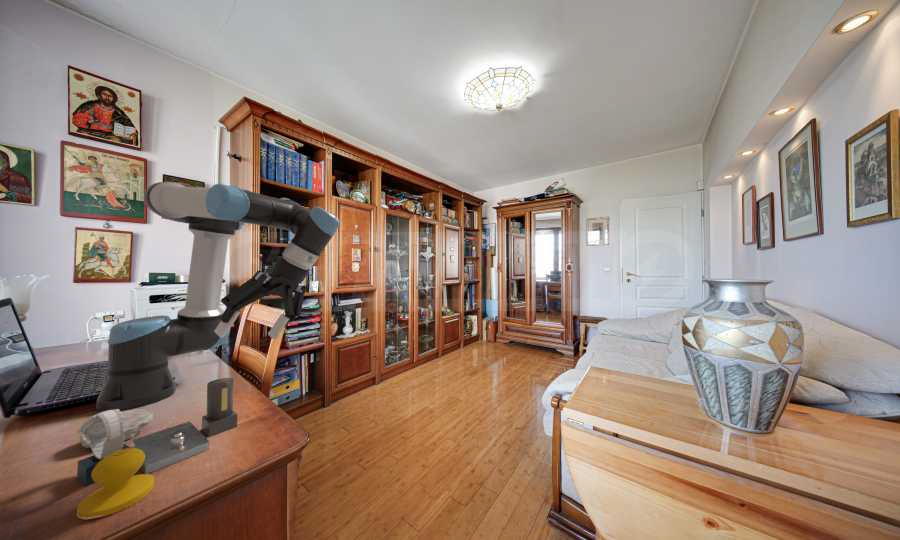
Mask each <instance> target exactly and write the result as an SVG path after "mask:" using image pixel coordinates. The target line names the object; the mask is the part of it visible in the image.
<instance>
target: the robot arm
mask: <svg viewBox="0 0 900 540" xmlns="http://www.w3.org/2000/svg"><path fill="white" fill-rule="evenodd" d="M143 193H144V194H143V200H144V203H145V205H146V206H147V208H148V209H149V210H150V211H152V213H153V214H155V215H158V216H159V217H162V218H163V219H165V220H166V219H167V220H169V221H172V222H177V223H182V224H188V231H189V232H190V233H192V234H193V243H192V249H191V259H190V266H189V272H188V279H187V280H188V282H187V288H186V297H185V305H184V307H182V308H181V309H179V310H178V311H177V315H176V316H177V317H176V318H172V319H171V318H170V316H169V315H154V316H147V317H140V318H134V319H130V320H126V321H125V320H124V321H122V322H120V323H116V324H115V325H113V326H112V327H111V328H110V330H109V337H108V341H107V345H108V357H107V358H108V361H107V362H108V363H107V377H106V381H105V383H104V384H103V386H102V388H101V391H100V393H99V395H98V397H97V399H96V410H97V411H100V412H104V411H108V410H116V409H119V410H120V411H121V410H122V411H123V410H130V409H133V408H138V407H142V406H146V405H150V404H153V403H157V402H159V401H161V399H162V400H164V399H167V398H168V397H170V396H172V395H173V394H175V392H176V386H177V385H176V382H175V379H174V377H173V375H172V373H171V370H170V368H169V359H170V358H171V357H177V356H180V355H187V354H190V353H191V354H192V353H196V352H202V351H208V350H211V349H215V348H218V347H220V346H222V345H223V344H224V343H225V342H226V341H227V339H228V338H229V335H230V333H231V327H232V326H233V324H234V323H235V321H236V320H237V319H238V317H239V316H240V314H241V311H239V310H241V309H243V308H245V307H247V306H249V305H251V304H252V303H254V302H257V301H258V300H260V299H262V298H264V297H269V296H270V295H271V296H278V297H280V298H282V302H283V311H284V313H280V315H279V316H278V318H277V320H276V321H275V322H274V324H273V325H272V327H271V329H270V330H269V331H268V333H267V335H268V336H269V337H270V338H272V339H273V340H277V339H278V337H279V335H280V334H281V332H283V331H282V330H283V329H285V328H286V327H287V325H288V324H289V322H290V321H291V320H292V321H294V320H295V319H296V317H297V318H299V317H300V316H301V315H302V311H303V310H302V309H303V303H304V298H305V293H306V291H307V290H308V286H307V285H306V284H304V283H303V282H304V281H305V279H306V278H307V276H308V275H309V270H310V269H312V268H313V267H314V265H315V264H316V262H317V260H318V259H319V257H320V256H321V254H322V253H323V251H324V250H325V248H326V247H327V245H328V244H329V242H330V241H331V240H332V238H333V237H334V236H335V234H336V232H337V230H338V228H339V227H340V223H341V222H340V219H339V218H338V217H336V216H335V215H333V214H331V212H328V211H327V210H325V209H323V208H322V207H321V206H318V205H317V206H316V205H315V206H313V207H312V209H310V210H309V209H307V208H305V207H304V206H302V205H301V204H300V203H298V202H296V201H294V200H291V199H290V198H287V197H280V198H277V197H273V196H268V195H264V194H260V193H257V192H254V191H251V190H247V189H244V188H240V187H238V186H235V185H227V184H224V183H216V184H213V185H212V186H211V187H198V186H192V185H189V184H185V183H180V182H174V181H173V182H170V181H159V182H155V183H152V184H150V185H149V186H148V187H147V188H146V189H145V191H144V192H143ZM245 224H249V225H254V226H255V225H257V226H262V227H267V228H268V227H269V228H271V229H272V228H273V229H274V228H275V229H280V230H286V231H288V232H289V233H292V234H293V235H294V236H293V238H291V239H290V241H289V243H288V244H287V246H286V247H285V248H284V250H283V252H281V255H282V256H280V257H279V258H278V259H277V260H276V262H275V264H274V265H273V267H272V272H271V273H269V274H266V273H264V272H263V271H262V270H257V271H256V272H255V273H254V274H253V275H252V277H250V278H249V279H247V281H245V282H244V283H242V284H241V285H239V286H238V287H237V288H235V289H234V290H232V291H231V292H229V293H228V294H227V295H225V296H224V297H222V298H221V296H222V295H221V294H222V288H223V287H222V286H223V280H224V274H225V273H224V272H225V265H226V258H227V252H228V251H227V250H228V243H229V240H230V239H231V238H233V237H235V234H236V231H239V230H241V229H243V226H245ZM293 292H294V293H293ZM220 302H221V304H223V306H225V307H226V308H225V310H223V309H222V307H220ZM171 394H172V395H171ZM158 400H159V401H158Z"/></svg>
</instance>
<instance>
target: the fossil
mask: <svg viewBox="0 0 900 540" xmlns="http://www.w3.org/2000/svg"><path fill="white" fill-rule="evenodd" d="M121 413H122V417H123V424H124V435H125V438H124V442H125V441H127V440H130V439H132V438H135V437H136V435H138V433H139V431H140V430H141V429H143V427H147V426H148V425H149V424H150V423H151V422H152V421H153V418H154V415H155V413H154V412H153V411H147V410H145V409H143V408H135V409H133V408H131V410H130V409H128V410H124V411H123V410H122V411H121ZM79 441H80V444H81V445H82V447H84V448H85V449H86V448H87V449H92V448H91V445H90V441H87V440H86V438H85V436H84V435H83V433H82V432H81V434H80V436H79ZM104 441H105V440H104ZM101 442H102V441H101Z"/></svg>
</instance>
